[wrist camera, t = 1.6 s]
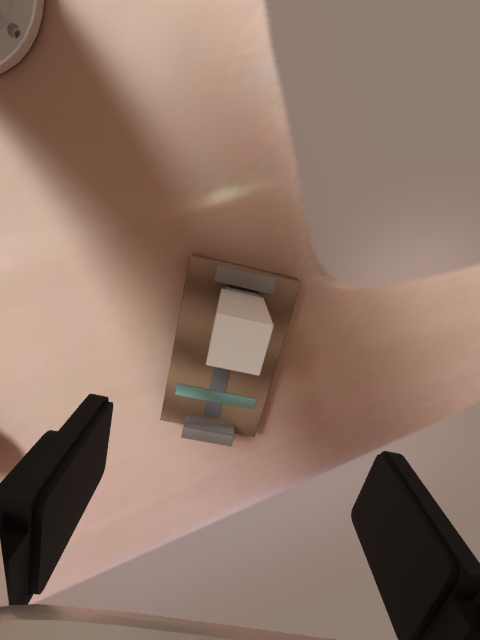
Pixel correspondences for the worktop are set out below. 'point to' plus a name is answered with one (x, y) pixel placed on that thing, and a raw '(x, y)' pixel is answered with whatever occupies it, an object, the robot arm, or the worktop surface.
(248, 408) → the wooden slider board
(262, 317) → the fader
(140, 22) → the worktop surface
